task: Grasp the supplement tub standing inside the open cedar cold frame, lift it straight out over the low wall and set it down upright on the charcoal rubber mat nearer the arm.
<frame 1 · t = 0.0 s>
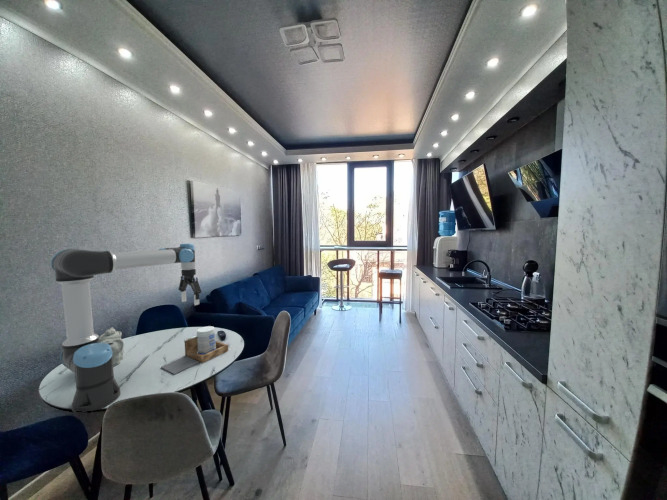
hand: (190, 303, 154), 28 cm above the table, fingers open, 13 cm apart
cold frame: (207, 353, 149), on the table
beige lumpy upright piece: (110, 364, 137), on the table
mat: (180, 365, 135), on the table
supplement tub: (207, 353, 149), resting in cold frame
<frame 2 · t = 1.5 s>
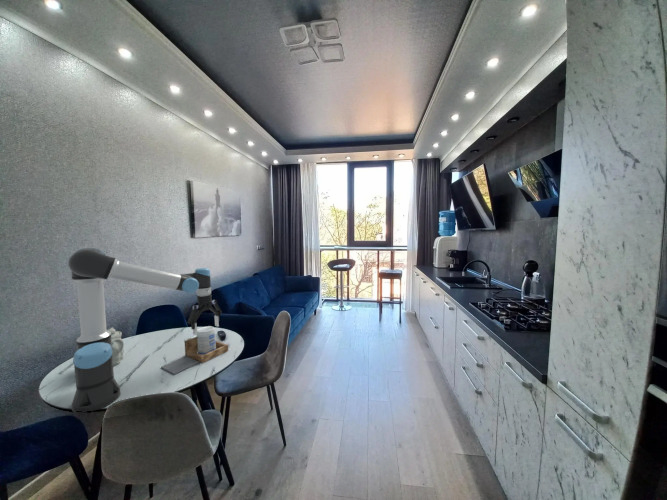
hand: (206, 330, 148), 14 cm above the table, fingers open, 13 cm apart
nothing on the table moved.
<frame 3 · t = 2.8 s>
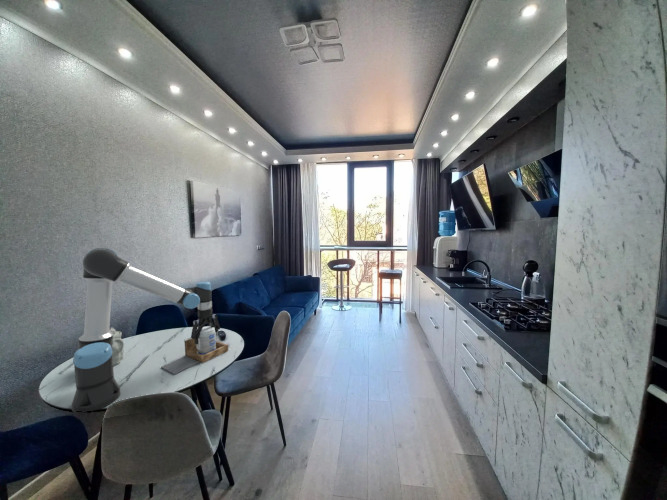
hand: (206, 345, 148), 5 cm above the table, fingers closed on supplement tub, 9 cm apart
supplement tub: (207, 353, 149), resting in cold frame, touching gripper
everything else where it was.
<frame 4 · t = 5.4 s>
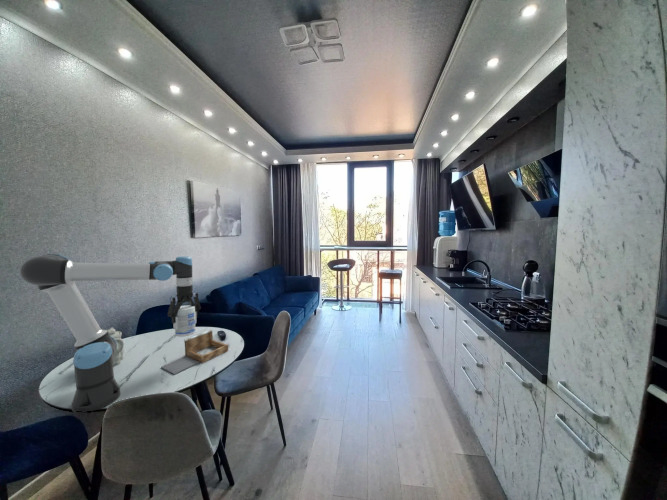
hand: (185, 325, 137), 21 cm above the table, fingers closed on supplement tub, 9 cm apart
supplement tub: (185, 334, 138), point 16 cm above the table, touching gripper
everything else where it was.
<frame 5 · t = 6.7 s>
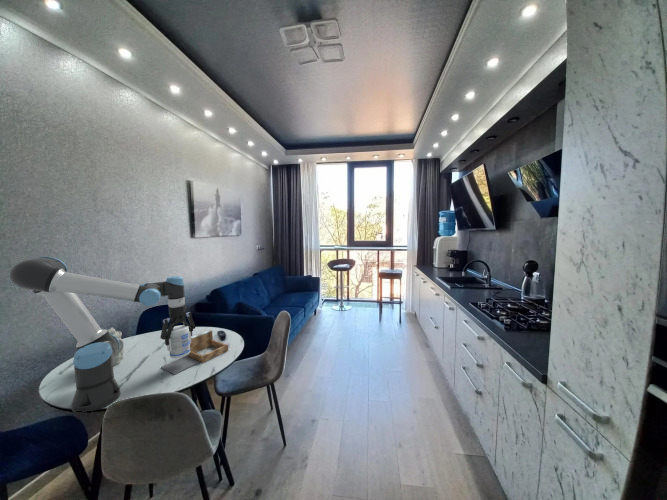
hand: (179, 346, 135), 11 cm above the table, fingers closed on supplement tub, 9 cm apart
supplement tub: (180, 355, 135), point 6 cm above the table, touching gripper
everything else where it was.
when the fingers open (7 cm above the table, at t = 7.9 s): supplement tub drops 1 cm, resting on mat.
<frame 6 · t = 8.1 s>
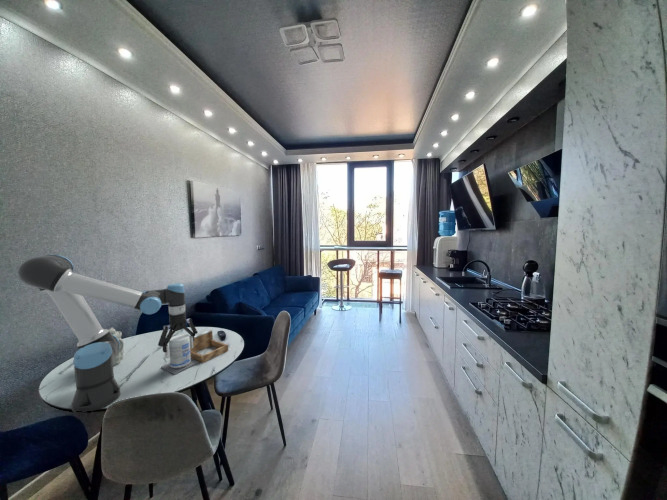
hand: (179, 352, 135), 7 cm above the table, fingers open, 12 cm apart
supplement tub: (180, 364, 135), resting on mat
everything else where it was.
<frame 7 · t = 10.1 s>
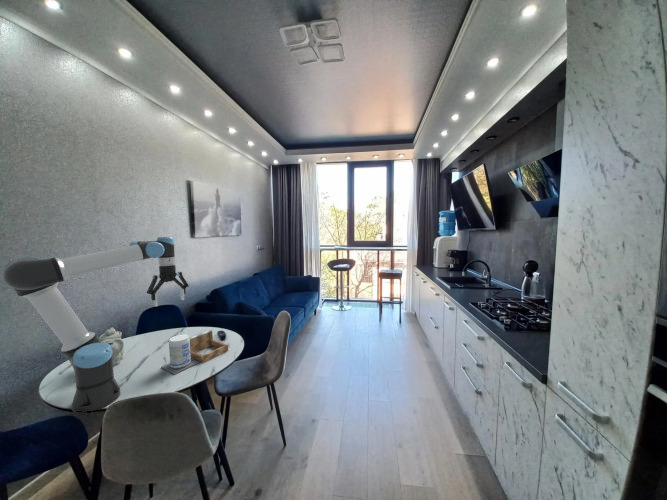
hand: (169, 302, 140), 32 cm above the table, fingers open, 13 cm apart
nothing on the table moved.
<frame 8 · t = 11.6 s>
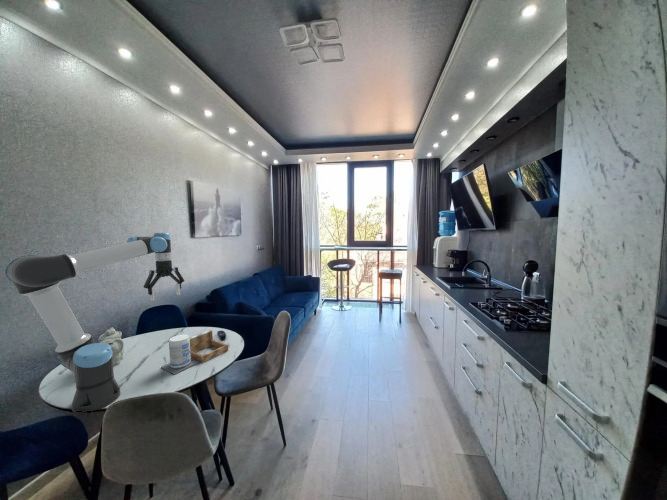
hand: (165, 297, 143), 35 cm above the table, fingers open, 13 cm apart
nothing on the table moved.
at the end: supplement tub inside the target area on the mat (0.2 cm from its centre), point 0.4 cm above the mat's base; supplement tub tilted 0°; the gripper is holding nothing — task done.
